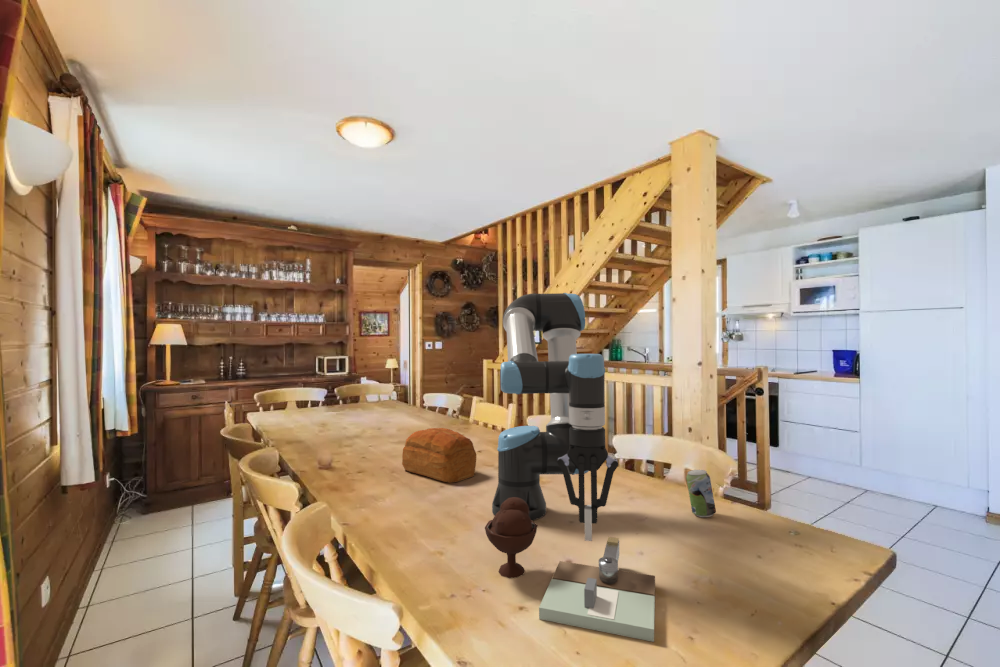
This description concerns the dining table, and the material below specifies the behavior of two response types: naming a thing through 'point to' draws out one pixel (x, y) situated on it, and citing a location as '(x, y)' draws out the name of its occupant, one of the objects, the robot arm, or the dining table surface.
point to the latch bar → (609, 561)
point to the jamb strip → (624, 583)
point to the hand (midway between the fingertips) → (588, 538)
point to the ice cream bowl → (511, 533)
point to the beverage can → (700, 493)
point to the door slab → (599, 608)
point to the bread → (439, 455)
